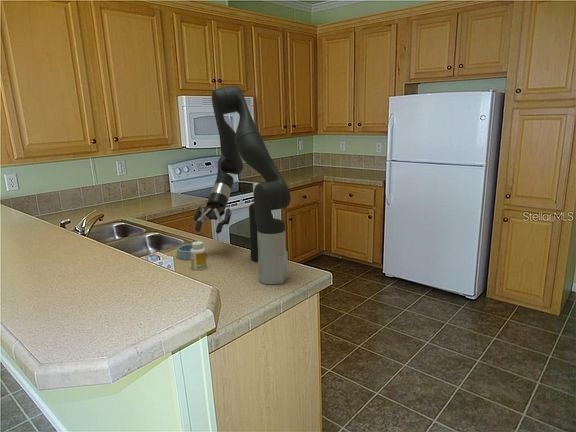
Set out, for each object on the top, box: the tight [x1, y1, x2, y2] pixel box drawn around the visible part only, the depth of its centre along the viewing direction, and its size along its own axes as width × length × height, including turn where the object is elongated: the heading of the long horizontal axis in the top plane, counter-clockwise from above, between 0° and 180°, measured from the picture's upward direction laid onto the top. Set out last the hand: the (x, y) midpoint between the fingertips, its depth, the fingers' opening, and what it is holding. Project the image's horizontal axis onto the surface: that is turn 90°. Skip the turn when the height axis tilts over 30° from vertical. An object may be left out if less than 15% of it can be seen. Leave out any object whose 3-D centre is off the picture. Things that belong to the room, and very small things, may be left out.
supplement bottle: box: [190, 240, 207, 271], centre depth 145 cm, size 5×5×10 cm
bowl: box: [176, 243, 193, 261], centre depth 159 cm, size 10×10×4 cm
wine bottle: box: [248, 182, 259, 263], centre depth 151 cm, size 6×6×30 cm
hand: (207, 232), depth 151 cm, fingers open, 8 cm apart
